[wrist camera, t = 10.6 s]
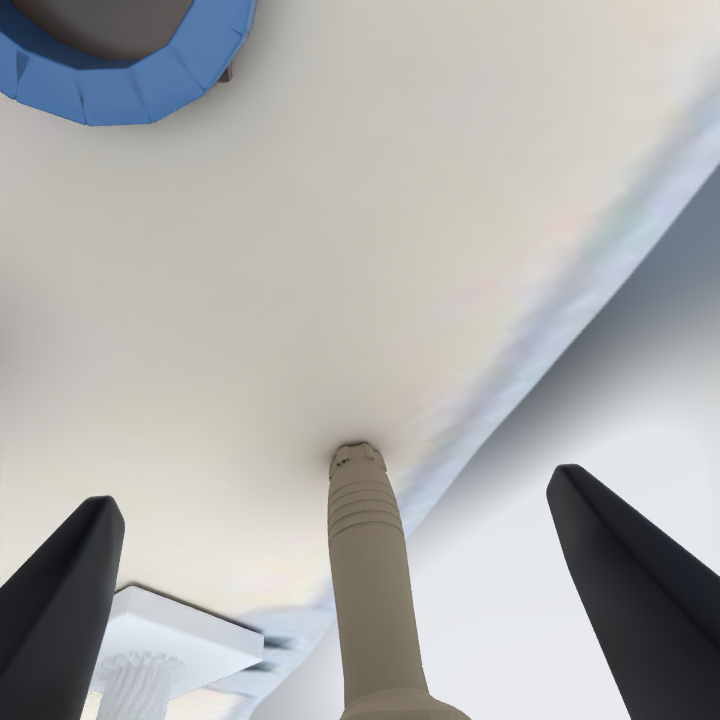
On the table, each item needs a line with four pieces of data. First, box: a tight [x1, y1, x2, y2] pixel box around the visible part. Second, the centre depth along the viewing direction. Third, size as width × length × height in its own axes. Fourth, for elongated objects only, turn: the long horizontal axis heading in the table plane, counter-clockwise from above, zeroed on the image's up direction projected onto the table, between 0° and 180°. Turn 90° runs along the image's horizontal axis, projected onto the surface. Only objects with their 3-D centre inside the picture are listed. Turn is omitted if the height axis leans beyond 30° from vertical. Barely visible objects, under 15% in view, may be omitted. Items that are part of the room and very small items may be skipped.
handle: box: [328, 443, 471, 720], centre depth 23 cm, size 5×6×15 cm
